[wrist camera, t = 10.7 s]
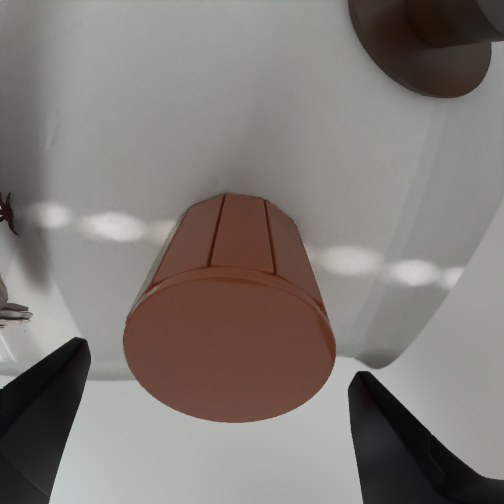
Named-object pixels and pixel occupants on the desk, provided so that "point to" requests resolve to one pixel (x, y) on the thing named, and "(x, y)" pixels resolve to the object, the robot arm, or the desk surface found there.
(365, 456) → the robot arm
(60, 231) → the desk surface
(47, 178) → the desk surface
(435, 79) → the holder
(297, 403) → the orange ribbed cylinder
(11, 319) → the bird
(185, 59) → the desk surface
